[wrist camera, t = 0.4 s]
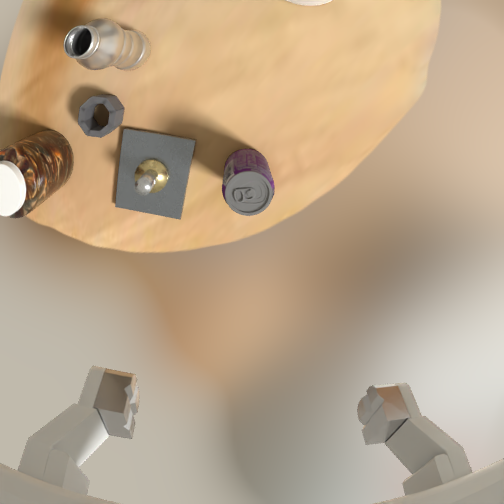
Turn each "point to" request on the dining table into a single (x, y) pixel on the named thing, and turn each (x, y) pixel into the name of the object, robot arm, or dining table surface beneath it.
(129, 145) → the post stand
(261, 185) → the beverage can
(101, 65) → the plastic bottle
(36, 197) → the jar
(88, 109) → the octagonal nut
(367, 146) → the dining table surface
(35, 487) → the robot arm
